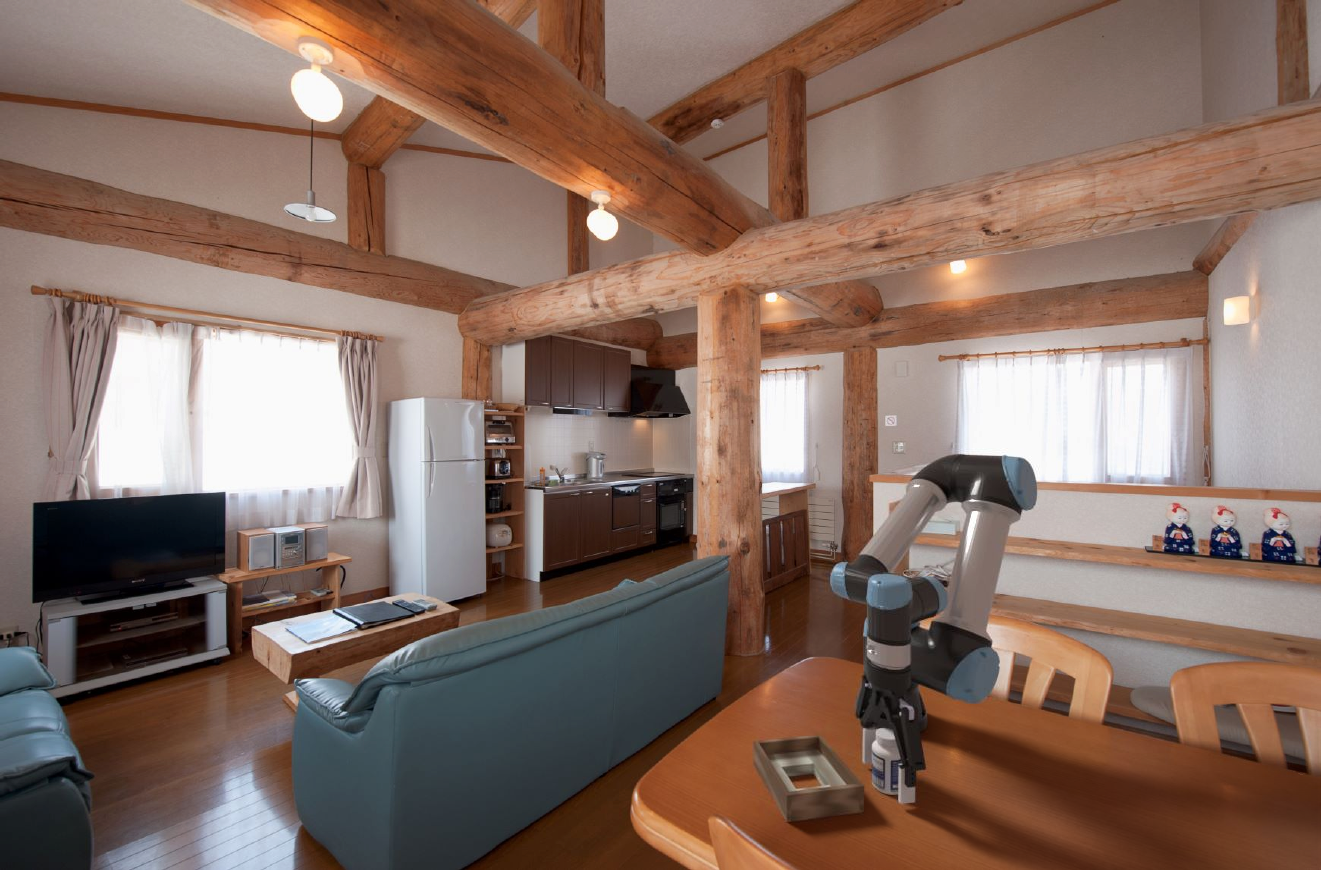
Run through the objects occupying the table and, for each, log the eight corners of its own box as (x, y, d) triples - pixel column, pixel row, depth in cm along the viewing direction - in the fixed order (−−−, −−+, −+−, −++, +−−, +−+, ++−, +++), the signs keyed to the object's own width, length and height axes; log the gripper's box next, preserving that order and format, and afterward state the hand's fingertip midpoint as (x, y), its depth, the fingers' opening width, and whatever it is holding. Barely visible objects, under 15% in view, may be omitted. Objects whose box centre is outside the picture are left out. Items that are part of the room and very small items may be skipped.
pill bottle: (901, 780, 102) (902, 728, 102) (904, 799, 97) (905, 744, 97) (870, 774, 104) (871, 723, 104) (872, 792, 99) (872, 738, 98)
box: (820, 756, 109) (820, 734, 109) (863, 812, 93) (863, 786, 93) (753, 764, 107) (753, 741, 107) (786, 822, 91) (786, 795, 91)
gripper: (837, 638, 111) (836, 746, 111) (909, 693, 88) (908, 828, 88) (871, 636, 112) (870, 743, 112) (951, 689, 89) (949, 823, 89)
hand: (887, 780), depth 100 cm, fingers open, 11 cm apart
